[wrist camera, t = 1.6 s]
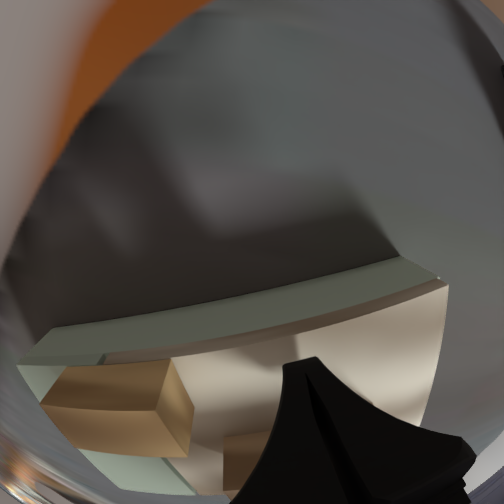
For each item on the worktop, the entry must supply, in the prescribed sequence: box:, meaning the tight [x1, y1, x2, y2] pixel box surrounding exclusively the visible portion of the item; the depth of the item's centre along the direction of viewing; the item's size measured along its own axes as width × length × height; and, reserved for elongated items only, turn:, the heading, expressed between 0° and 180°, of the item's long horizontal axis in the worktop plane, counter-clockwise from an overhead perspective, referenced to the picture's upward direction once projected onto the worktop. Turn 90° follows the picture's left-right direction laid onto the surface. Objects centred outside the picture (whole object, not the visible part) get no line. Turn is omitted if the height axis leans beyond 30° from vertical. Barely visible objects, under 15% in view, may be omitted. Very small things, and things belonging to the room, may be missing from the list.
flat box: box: [16, 256, 440, 495], centre depth 15 cm, size 14×24×5 cm, turn 102°
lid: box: [103, 278, 449, 501], centre depth 11 cm, size 14×16×4 cm
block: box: [39, 359, 195, 457], centre depth 9 cm, size 3×6×3 cm, turn 102°
